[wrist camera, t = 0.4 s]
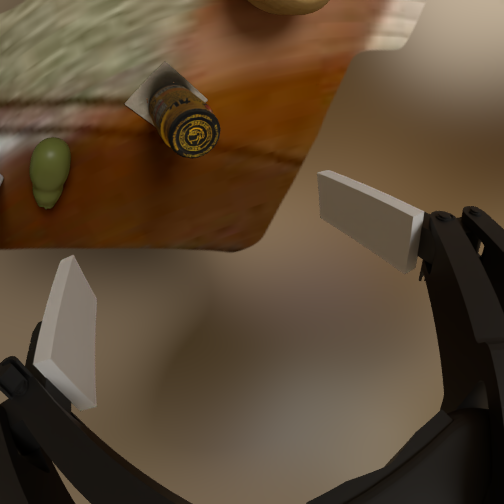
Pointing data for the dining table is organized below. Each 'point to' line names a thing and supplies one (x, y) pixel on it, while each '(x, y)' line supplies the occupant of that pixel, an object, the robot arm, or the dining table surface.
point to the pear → (49, 170)
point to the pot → (289, 6)
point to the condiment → (176, 112)
